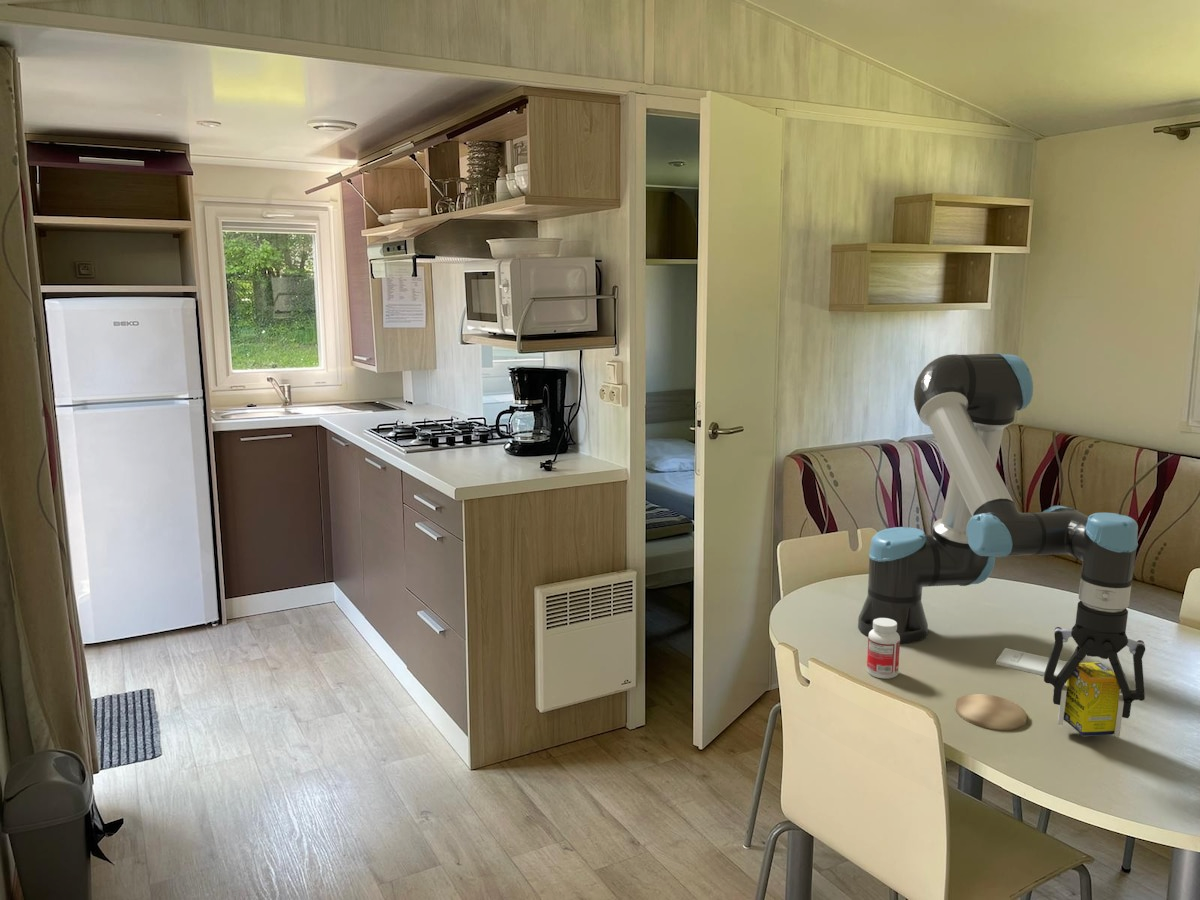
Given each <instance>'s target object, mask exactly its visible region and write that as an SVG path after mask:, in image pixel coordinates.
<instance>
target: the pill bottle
mask: <svg viewBox="0 0 1200 900" xmlns="http://www.w3.org/2000/svg"><path fill="white" fill-rule="evenodd" d="M896 630H897V622H896V621H894V620H892V619H889V618H877V619H874V620H873V630H871V631H870V632H869V636H867V637H868V638H867V639H868V640H867V657H866V658H867V659H866V670H867V671H866V672H868V674H869V675H870V676H872V677H875V678H878V679H882V680H883V679H884V680H885V679H893V678H895V677H897V676H898V674H899V667H900V664H899V663H900V646H901V643H900V636H899V634H898V633H897V632H896Z"/></svg>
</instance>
